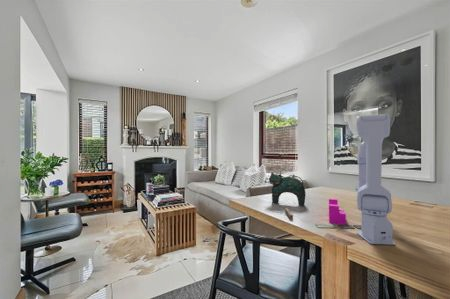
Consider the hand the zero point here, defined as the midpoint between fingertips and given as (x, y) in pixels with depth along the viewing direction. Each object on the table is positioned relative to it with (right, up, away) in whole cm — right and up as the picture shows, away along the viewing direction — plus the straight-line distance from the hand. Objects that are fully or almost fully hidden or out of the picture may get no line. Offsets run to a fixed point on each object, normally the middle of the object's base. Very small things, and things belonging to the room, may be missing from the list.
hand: (366, 209), depth 99 cm
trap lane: (-20, -4, -1) cm, 20 cm away
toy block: (-13, -5, +1) cm, 14 cm away
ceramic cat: (-28, -5, +27) cm, 39 cm away
